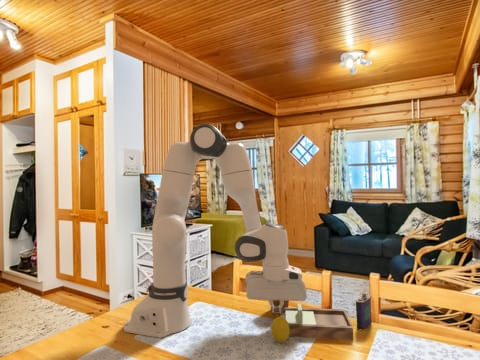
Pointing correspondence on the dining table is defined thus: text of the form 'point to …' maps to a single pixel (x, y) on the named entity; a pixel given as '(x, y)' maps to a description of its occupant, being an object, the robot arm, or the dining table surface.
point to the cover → (300, 316)
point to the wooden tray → (322, 324)
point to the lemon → (280, 329)
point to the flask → (363, 311)
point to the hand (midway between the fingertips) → (276, 312)
